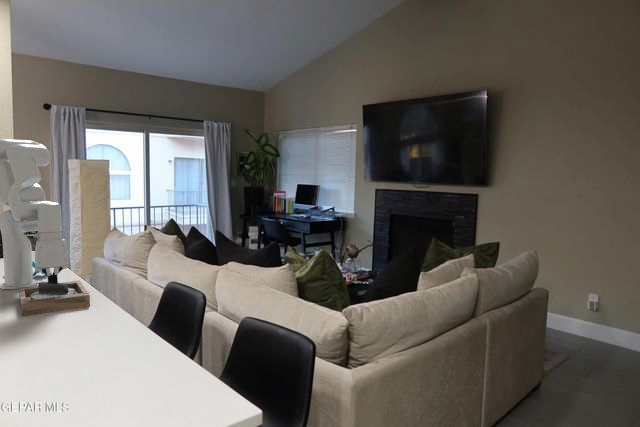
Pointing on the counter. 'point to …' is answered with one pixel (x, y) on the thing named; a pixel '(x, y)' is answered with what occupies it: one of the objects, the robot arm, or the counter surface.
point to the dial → (52, 290)
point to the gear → (36, 271)
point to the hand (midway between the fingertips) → (52, 285)
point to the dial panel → (53, 300)
